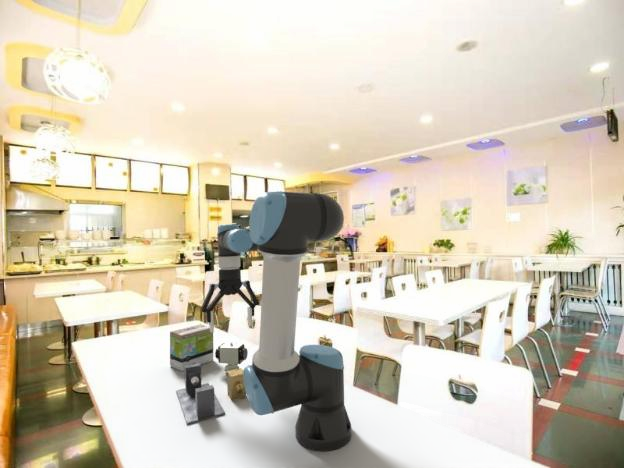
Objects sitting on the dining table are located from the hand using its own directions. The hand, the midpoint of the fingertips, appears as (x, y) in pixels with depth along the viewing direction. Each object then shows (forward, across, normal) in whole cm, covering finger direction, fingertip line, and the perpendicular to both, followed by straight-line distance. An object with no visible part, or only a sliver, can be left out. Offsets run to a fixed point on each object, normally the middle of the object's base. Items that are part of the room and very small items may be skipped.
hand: (231, 328), depth 121 cm
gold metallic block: (+22, 0, +6) cm, 22 cm away
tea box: (+21, +8, -34) cm, 40 cm away
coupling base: (+21, +12, +4) cm, 25 cm away
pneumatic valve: (+21, -4, -14) cm, 26 cm away
